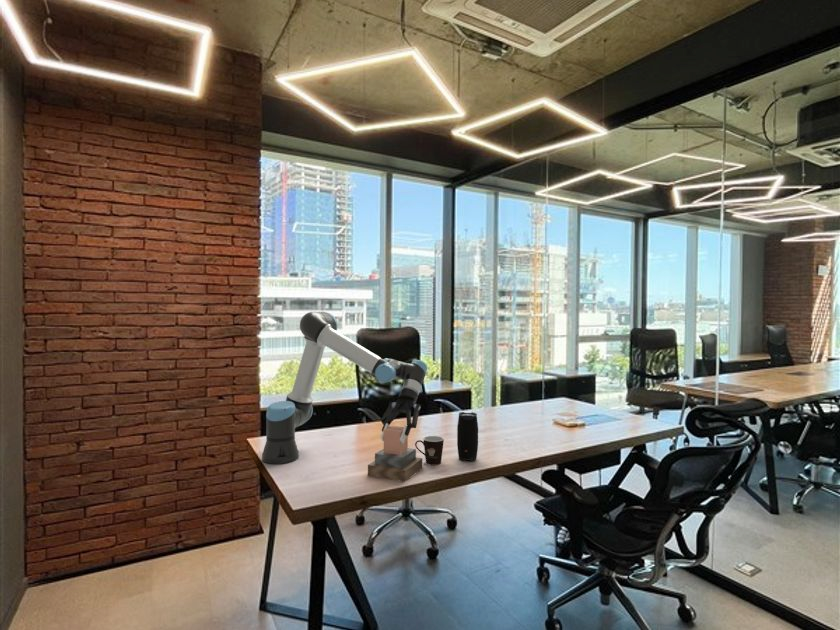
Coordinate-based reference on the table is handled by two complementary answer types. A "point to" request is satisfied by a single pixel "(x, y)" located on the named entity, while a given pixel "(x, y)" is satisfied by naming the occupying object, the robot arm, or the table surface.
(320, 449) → the table surface
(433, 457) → the coffee mug
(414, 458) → the block tower
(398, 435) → the terracotta brick
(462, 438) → the portable speaker
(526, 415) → the table surface
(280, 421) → the robot arm
